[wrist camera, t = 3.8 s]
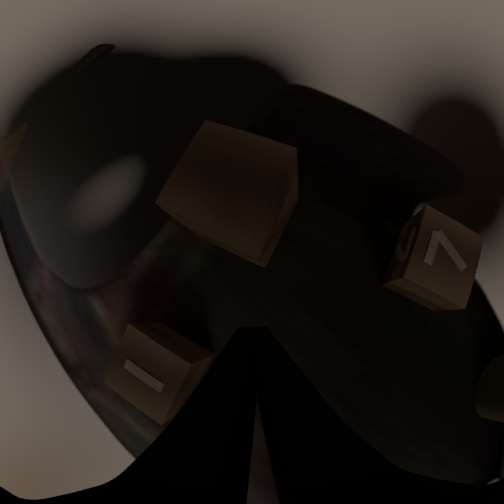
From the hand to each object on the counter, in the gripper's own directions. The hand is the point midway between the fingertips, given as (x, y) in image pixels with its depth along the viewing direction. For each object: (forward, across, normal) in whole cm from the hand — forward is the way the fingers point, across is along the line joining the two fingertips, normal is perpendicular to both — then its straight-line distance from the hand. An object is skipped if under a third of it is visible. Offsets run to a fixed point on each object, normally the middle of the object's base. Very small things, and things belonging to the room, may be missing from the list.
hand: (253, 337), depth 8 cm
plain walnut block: (+15, 0, +1) cm, 15 cm away
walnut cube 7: (+11, -13, +4) cm, 17 cm away
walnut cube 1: (+9, +7, +10) cm, 16 cm away
